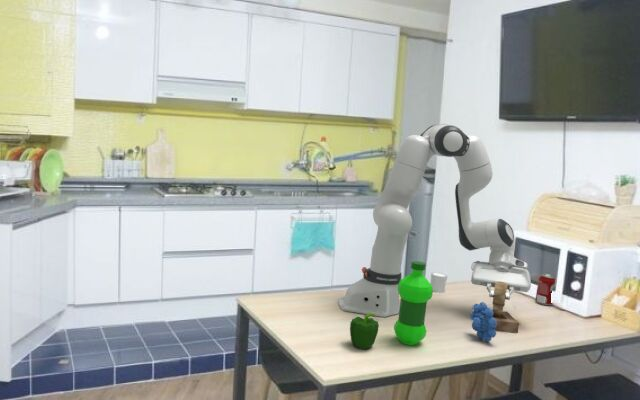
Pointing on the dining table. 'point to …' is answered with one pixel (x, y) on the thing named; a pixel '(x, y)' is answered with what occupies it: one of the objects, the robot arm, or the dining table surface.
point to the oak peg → (499, 297)
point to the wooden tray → (506, 323)
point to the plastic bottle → (413, 305)
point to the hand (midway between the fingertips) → (499, 297)
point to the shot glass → (438, 282)
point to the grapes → (483, 321)
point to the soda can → (545, 289)
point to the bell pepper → (363, 331)
